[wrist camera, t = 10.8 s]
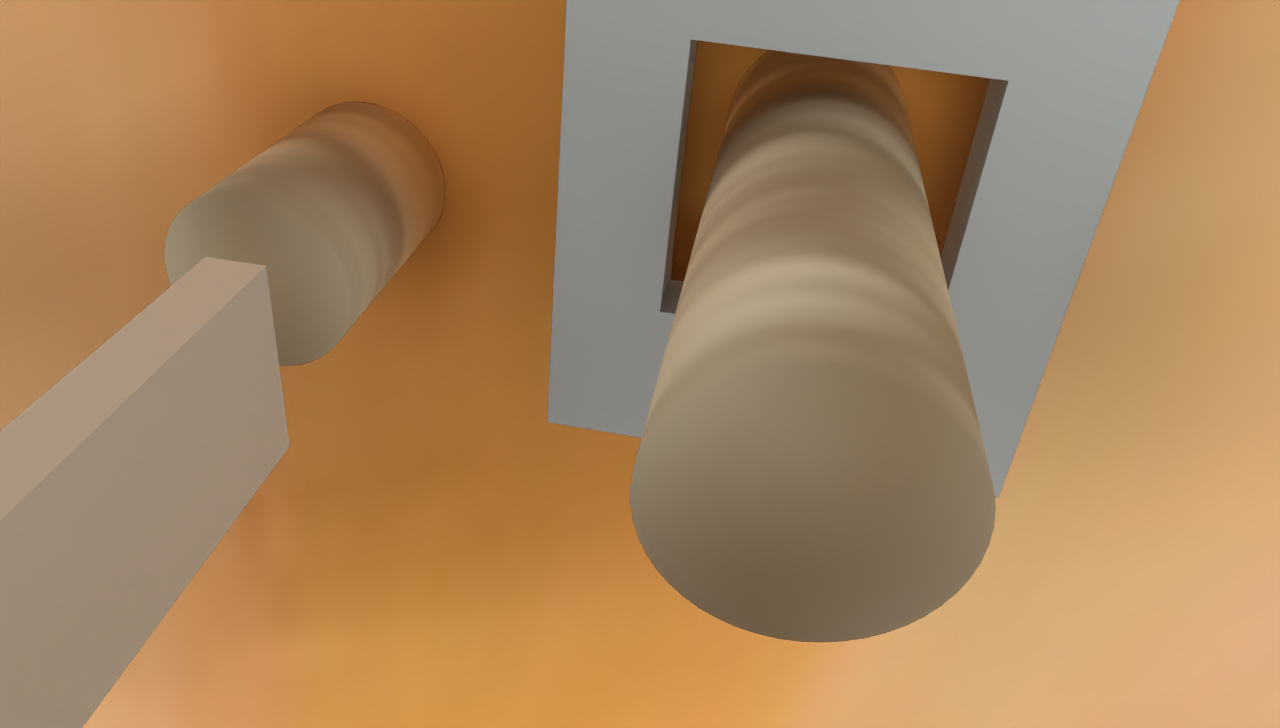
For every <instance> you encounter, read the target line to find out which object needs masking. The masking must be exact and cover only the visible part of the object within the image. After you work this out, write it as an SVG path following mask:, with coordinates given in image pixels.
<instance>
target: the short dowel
mask: <svg viewBox="0 0 1280 728" xmlns="http://www.w3.org/2000/svg"><path fill="white" fill-rule="evenodd" d="M444 201H445V180H444V176H443V171H442V168H441V165H440V162H439V160H438V158H437V156H436V154H435V151H434V150H433V148H432V147H431V145H430V144H429V142H428V141H427V139H426V138H425V137H424V136H423V135H422V133H421V132H420V131H419V130H418V129H417V128H416V127H415V126H414V125H412V124H411V123H410V122H409V121H407V120H406V119H405V118H403V117H402V116H400V115H398V114H397V113H395V112H393V111H391V110H389V109H387V108H384V107H381V106H378V105H375V104H370V103H365V102H345V103H340V104H336V105H333V106H331V107H328V108H326V109H324V110H323V111H321V112H319V113H318V114H316V115H315V116H314V117H312V118H311V119H309V120H308V121H306V122H305V123H304V124H302V125H301V126H299V127H298V128H296V129H295V130H294V131H292V132H291V133H289V134H288V135H286V136H285V137H283V138H282V139H281V140H279V141H278V142H276V143H275V144H273V145H272V146H271V147H269V148H268V149H266V150H265V151H263V152H262V153H261V154H259V155H258V156H256V157H255V158H253V159H252V160H251V161H249V162H248V163H246V164H245V165H243V166H242V167H241V168H239V169H238V170H236V171H235V172H233V173H232V174H231V175H229V176H228V177H226V178H225V179H223V180H222V181H221V182H219V183H218V184H216V185H215V186H213V187H212V188H211V189H209V190H208V191H206V192H205V193H203V194H202V195H200V196H199V197H198V198H196V199H195V200H193V201H192V202H190V203H189V204H188V205H187V206H186V207H184V208H183V209H182V210H181V211H180V212H179V213H178V215H177V216H176V217H175V219H174V220H173V222H172V224H171V226H170V228H169V231H168V234H167V237H166V242H165V266H166V271H167V275H168V279H169V282H170V285H171V286H172V285H173V284H174V283H175V282H177V281H178V280H179V279H180V278H181V277H183V276H184V275H185V274H186V273H187V272H188V271H190V270H191V269H192V268H193V267H194V266H196V265H197V264H198V263H199V262H200V261H201V260H203V259H204V258H205V257H210V258H217V259H224V260H231V261H237V262H244V263H251V264H258V265H265V266H266V269H267V276H268V284H269V292H270V299H271V307H272V314H273V322H274V330H275V337H276V345H277V353H278V360H279V366H295V365H302V364H305V363H309V362H312V361H314V360H316V359H318V358H321V357H322V356H324V355H325V354H327V353H328V352H329V351H330V350H331V349H333V348H334V347H335V346H336V345H337V343H338V342H339V341H340V340H341V339H342V337H343V336H344V335H345V334H346V333H347V331H348V330H349V329H350V328H351V327H352V325H353V324H354V323H355V322H356V321H357V319H358V318H359V317H360V316H361V315H362V313H363V312H364V311H365V310H366V309H367V307H368V306H369V305H370V304H371V303H372V301H373V300H374V299H375V298H376V297H377V295H378V294H379V293H380V292H381V291H382V289H383V288H384V287H385V286H386V285H387V283H388V282H389V281H390V280H391V279H392V277H393V276H394V275H395V274H396V273H397V271H398V270H399V269H400V268H401V267H402V265H403V264H404V263H405V262H406V261H407V259H408V258H409V257H410V256H411V255H412V253H413V252H414V251H415V250H416V249H417V247H418V246H419V245H420V244H421V243H422V241H423V240H424V239H425V238H426V237H427V235H428V234H429V233H430V232H431V230H432V229H433V228H434V226H435V225H436V224H437V222H438V220H439V218H440V216H441V213H442V210H443V207H444Z"/></svg>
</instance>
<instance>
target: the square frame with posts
mask: <svg viewBox="0 0 1280 728" xmlns="http://www.w3.org/2000/svg"><path fill="white" fill-rule="evenodd" d="M1179 1H1180V0H567V6H566V28H565V49H564V71H563V93H562V114H561V136H560V158H559V179H558V201H557V223H556V244H555V266H554V288H553V310H552V331H551V353H550V375H549V396H548V418H547V422H549V423H555V424H561V425H567V426H573V427H579V428H585V429H591V430H597V431H603V432H609V433H615V434H621V435H627V436H633V437H639V438H642V435H643V431H644V427H645V424H646V420H647V416H648V413H649V409H650V405H651V402H652V398H653V394H654V390H655V387H656V383H657V379H658V376H659V372H660V368H661V364H662V361H663V357H664V353H665V350H666V346H667V342H668V339H669V335H670V331H671V327H672V324H673V320H674V316H675V313H676V309H677V305H678V302H679V298H680V294H681V290H682V287H683V283H684V281H677V280H671V272H672V263H673V260H672V254H673V246H674V237H675V229H676V220H677V212H678V203H679V194H680V186H681V177H682V169H683V160H684V151H685V143H686V134H687V126H688V117H689V109H690V100H691V91H692V83H693V74H694V66H695V57H696V49H697V40H699V41H706V42H714V43H722V44H729V45H737V46H745V47H752V48H760V49H768V50H776V51H783V52H791V53H799V54H806V55H814V56H822V57H829V58H837V59H845V60H853V61H860V62H868V63H876V64H883V65H891V66H899V67H906V68H914V69H922V70H929V71H937V72H945V73H953V74H960V75H968V76H976V77H983V78H990V81H989V84H988V88H987V92H986V95H985V99H984V102H983V106H982V110H981V113H980V117H979V120H978V124H977V128H976V131H975V135H974V139H973V142H972V146H971V149H970V153H969V157H968V160H967V164H966V167H965V171H964V175H963V178H962V182H961V185H960V189H959V193H958V196H957V200H956V203H955V207H954V211H953V214H952V218H951V221H950V225H949V229H948V232H947V236H946V239H945V243H944V247H943V250H942V254H941V257H940V258H941V262H942V266H943V271H944V275H945V279H946V284H947V288H948V292H949V297H950V301H951V305H952V310H953V314H954V318H955V323H956V327H957V331H958V336H959V340H960V344H961V349H962V353H963V357H964V362H965V366H966V370H967V375H968V379H969V383H970V388H971V392H972V396H973V401H974V405H975V409H976V414H977V418H978V422H979V427H980V431H981V435H982V440H983V444H984V448H985V453H986V457H987V461H988V466H989V470H990V474H991V479H992V483H993V487H994V496H995V497H999V494H1000V491H1001V489H1002V486H1003V483H1004V480H1005V478H1006V475H1007V472H1008V470H1009V467H1010V464H1011V461H1012V459H1013V456H1014V453H1015V450H1016V448H1017V445H1018V442H1019V439H1020V437H1021V434H1022V431H1023V428H1024V426H1025V423H1026V420H1027V417H1028V415H1029V412H1030V409H1031V407H1032V404H1033V401H1034V398H1035V396H1036V393H1037V390H1038V387H1039V385H1040V382H1041V379H1042V376H1043V374H1044V371H1045V368H1046V365H1047V363H1048V360H1049V357H1050V354H1051V352H1052V349H1053V346H1054V344H1055V341H1056V338H1057V335H1058V333H1059V330H1060V327H1061V324H1062V322H1063V319H1064V316H1065V313H1066V311H1067V308H1068V305H1069V302H1070V300H1071V297H1072V294H1073V291H1074V289H1075V286H1076V283H1077V281H1078V278H1079V275H1080V272H1081V270H1082V267H1083V264H1084V261H1085V259H1086V256H1087V253H1088V250H1089V248H1090V245H1091V242H1092V239H1093V237H1094V234H1095V231H1096V228H1097V226H1098V223H1099V220H1100V218H1101V215H1102V212H1103V209H1104V207H1105V204H1106V201H1107V198H1108V196H1109V193H1110V190H1111V187H1112V185H1113V182H1114V179H1115V176H1116V174H1117V171H1118V168H1119V165H1120V163H1121V160H1122V157H1123V155H1124V152H1125V149H1126V146H1127V144H1128V141H1129V138H1130V135H1131V133H1132V130H1133V127H1134V124H1135V122H1136V119H1137V116H1138V113H1139V111H1140V108H1141V105H1142V102H1143V100H1144V97H1145V94H1146V91H1147V89H1148V86H1149V83H1150V81H1151V78H1152V75H1153V72H1154V70H1155V67H1156V64H1157V61H1158V59H1159V56H1160V53H1161V50H1162V48H1163V45H1164V42H1165V39H1166V37H1167V34H1168V31H1169V28H1170V26H1171V23H1172V20H1173V18H1174V15H1175V12H1176V9H1177V7H1178V4H1179Z"/></svg>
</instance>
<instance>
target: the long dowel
mask: <svg viewBox="0 0 1280 728" xmlns="http://www.w3.org/2000/svg"><path fill="white" fill-rule="evenodd" d="M630 504H631V511H632V518H633V522H634V526H635V529H636V532H637V535H638V538H639V540H640V542H641V544H642V546H643V548H644V551H645V553H646V554H647V556H648V557H649V559H650V560H651V562H652V563H653V565H654V566H655V568H656V569H657V571H658V572H659V573H660V574H661V575H662V576H663V577H664V579H665V580H666V581H667V582H668V583H669V584H670V585H671V586H672V587H673V588H674V589H675V590H677V591H678V592H679V593H680V594H681V595H682V596H683V597H685V598H686V599H687V600H689V601H690V602H691V603H693V604H694V605H696V606H697V607H698V608H700V609H702V610H703V611H705V612H707V613H709V614H710V615H712V616H714V617H716V618H718V619H720V620H722V621H724V622H727V623H729V624H731V625H733V626H736V627H738V628H741V629H744V630H747V631H750V632H753V633H756V634H760V635H765V636H769V637H773V638H778V639H785V640H793V641H801V642H839V641H848V640H855V639H862V638H867V637H871V636H875V635H879V634H883V633H887V632H890V631H892V630H895V629H898V628H901V627H904V626H906V625H908V624H910V623H912V622H914V621H916V620H918V619H920V618H923V617H924V616H926V615H928V614H929V613H931V612H932V611H934V610H935V609H937V608H939V607H940V606H942V605H943V604H944V603H945V602H946V601H948V600H949V599H950V598H951V597H952V596H954V595H955V594H956V593H957V592H958V591H959V590H960V589H961V588H962V587H963V585H964V584H965V583H966V582H967V581H968V580H969V579H970V578H971V576H972V575H973V573H974V572H975V570H976V569H977V567H978V566H979V564H980V563H981V561H982V559H983V556H984V554H985V552H986V550H987V548H988V546H989V542H990V539H991V535H992V531H993V528H994V519H995V496H994V487H993V483H992V479H991V474H990V470H989V466H988V461H987V457H986V453H985V448H984V444H983V440H982V435H981V431H980V427H979V422H978V418H977V414H976V409H975V405H974V401H973V396H972V392H971V388H970V383H969V379H968V375H967V370H966V366H965V362H964V357H963V353H962V349H961V344H960V340H959V336H958V331H957V327H956V323H955V318H954V314H953V310H952V305H951V301H950V297H949V292H948V288H947V284H946V279H945V275H944V271H943V266H942V262H941V258H940V253H939V249H938V245H937V240H936V236H935V232H934V227H933V223H932V219H931V214H930V210H929V206H928V201H927V197H926V193H925V188H924V184H923V180H922V175H921V171H920V167H919V162H918V158H917V154H916V149H915V145H914V141H913V136H912V132H911V128H910V123H909V119H908V115H907V110H906V106H905V102H904V98H903V94H902V90H901V88H900V85H899V83H898V80H897V79H896V77H895V75H894V74H893V72H892V70H891V69H890V68H889V66H888V65H883V64H876V63H868V62H860V61H853V60H845V59H837V58H829V57H822V56H814V55H806V54H799V53H791V52H783V51H776V50H770V51H768V52H767V53H765V54H764V55H763V56H762V57H760V58H759V59H758V60H757V61H756V62H755V63H754V64H753V65H752V66H751V68H750V69H749V70H748V71H747V73H746V74H745V76H744V77H743V79H742V80H741V82H740V84H739V86H738V88H737V90H736V93H735V96H734V99H733V102H732V105H731V109H730V113H729V116H728V120H727V124H726V127H725V131H724V135H723V139H722V142H721V146H720V150H719V153H718V157H717V161H716V165H715V168H714V172H713V176H712V179H711V183H710V187H709V190H708V194H707V198H706V202H705V205H704V209H703V213H702V216H701V220H700V224H699V227H698V231H697V235H696V239H695V242H694V246H693V250H692V253H691V257H690V261H689V265H688V268H687V272H686V276H685V279H684V283H683V287H682V290H681V294H680V298H679V302H678V305H677V309H676V313H675V316H674V320H673V324H672V327H671V331H670V335H669V339H668V342H667V346H666V350H665V353H664V357H663V361H662V364H661V368H660V372H659V376H658V379H657V383H656V387H655V390H654V394H653V398H652V402H651V405H650V409H649V413H648V416H647V420H646V424H645V427H644V431H643V435H642V439H641V442H640V446H639V450H638V453H637V457H636V461H635V464H634V469H633V474H632V479H631V488H630Z"/></svg>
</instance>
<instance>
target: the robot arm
mask: <svg viewBox="0 0 1280 728" xmlns="http://www.w3.org/2000/svg"><path fill="white" fill-rule="evenodd" d="M289 447H290V444H289V437H288V429H287V421H286V414H285V406H284V398H283V391H282V383H281V376H280V368H279V360H278V353H277V345H276V337H275V330H274V322H273V314H272V307H271V299H270V292H269V284H268V276H267V269H266V266H265V265H258V264H251V263H244V262H237V261H231V260H224V259H217V258H210V257H205V258H204V259H203V260H201V261H200V262H199V263H198V264H197V265H196V266H194V267H193V268H192V269H191V270H190V271H188V272H187V273H186V274H185V275H184V276H183V277H181V278H180V279H179V280H178V281H177V282H175V283H174V284H173V285H172V286H171V287H170V288H168V289H167V290H166V291H165V292H164V293H162V294H161V295H160V296H159V297H158V298H157V299H155V300H154V301H153V302H152V303H151V304H149V305H148V306H147V307H146V308H145V309H144V310H142V311H141V312H140V313H139V314H138V315H136V316H135V317H134V318H133V319H132V320H131V321H129V322H128V323H127V324H126V325H125V326H123V327H122V328H121V329H120V330H119V331H118V332H116V333H115V334H114V335H113V336H112V337H110V338H109V339H108V340H107V341H106V342H105V343H103V344H102V345H101V346H100V347H99V348H97V349H96V350H95V351H94V352H93V353H92V354H90V355H89V356H88V357H87V358H86V359H84V360H83V361H82V362H81V363H80V364H79V365H77V366H76V367H75V368H74V369H73V370H72V371H70V372H69V373H68V374H67V375H66V376H64V377H63V378H62V379H61V380H60V381H59V382H57V383H56V384H55V385H54V386H53V387H51V388H50V389H49V390H48V391H47V392H46V393H44V394H43V395H42V396H41V397H40V398H38V399H37V400H36V401H35V402H34V403H33V404H31V405H30V406H29V407H28V408H27V409H25V410H24V411H23V412H22V413H21V414H20V415H18V416H17V417H16V418H15V419H14V420H12V421H11V422H10V423H9V424H8V425H7V426H5V427H4V428H3V429H2V430H1V431H0V728H82V727H83V726H84V725H85V723H86V722H87V720H88V719H89V718H90V716H91V715H92V714H93V712H94V711H95V710H96V708H97V707H98V706H99V704H100V703H101V701H102V700H103V699H104V697H105V696H106V695H107V693H108V692H109V691H110V689H111V688H112V687H113V685H114V684H115V683H116V681H117V680H118V678H119V677H120V676H121V674H122V673H123V672H124V670H125V669H126V668H127V666H128V665H129V664H130V662H131V661H132V660H133V658H134V657H135V655H136V654H137V653H138V651H139V650H140V649H141V647H142V646H143V645H144V643H145V642H146V641H147V639H148V638H149V636H150V635H151V634H152V632H153V631H154V630H155V628H156V627H157V626H158V624H159V623H160V622H161V620H162V619H163V618H164V616H165V615H166V613H167V612H168V611H169V609H170V608H171V607H172V605H173V604H174V603H175V601H176V600H177V599H178V597H179V596H180V595H181V593H182V592H183V590H184V589H185V588H186V586H187V585H188V584H189V582H190V581H191V580H192V578H193V577H194V576H195V574H196V573H197V571H198V570H199V569H200V567H201V566H202V565H203V563H204V562H205V561H206V559H207V558H208V557H209V555H210V554H211V553H212V551H213V550H214V548H215V547H216V546H217V544H218V543H219V542H220V540H221V539H222V538H223V536H224V535H225V534H226V532H227V531H228V530H229V528H230V527H231V525H232V524H233V523H234V521H235V520H236V519H237V517H238V516H239V515H240V513H241V512H242V511H243V509H244V508H245V506H246V505H247V504H248V502H249V501H250V500H251V498H252V497H253V496H254V494H255V493H256V492H257V490H258V489H259V488H260V486H261V485H262V483H263V482H264V481H265V479H266V478H267V477H268V475H269V474H270V473H271V471H272V470H273V469H274V467H275V466H276V465H277V463H278V462H279V460H280V459H281V458H282V456H283V455H284V454H285V452H286V451H287V450H288V448H289Z"/></svg>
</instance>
